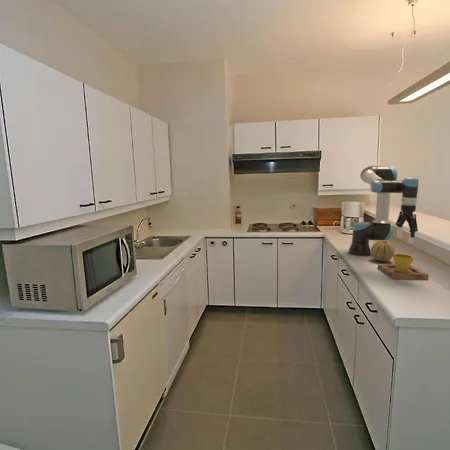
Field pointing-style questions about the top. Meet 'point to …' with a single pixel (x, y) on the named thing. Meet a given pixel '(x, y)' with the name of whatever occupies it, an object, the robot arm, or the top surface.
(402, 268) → the plant pot
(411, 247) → the top surface
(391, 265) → the walnut tray
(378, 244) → the cantaloupe
